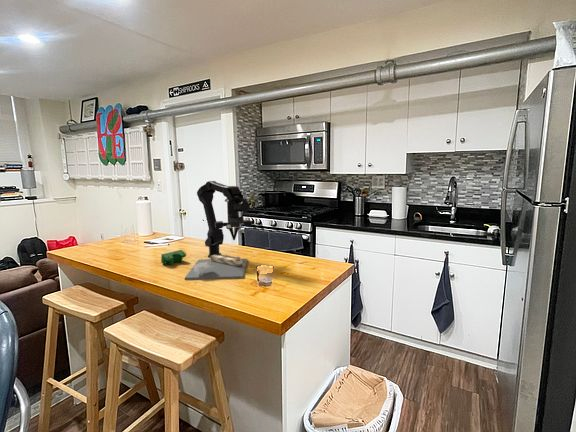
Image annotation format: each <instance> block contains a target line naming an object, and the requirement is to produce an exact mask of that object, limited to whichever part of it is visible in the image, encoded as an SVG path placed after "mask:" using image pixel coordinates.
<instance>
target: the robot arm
mask: <svg viewBox="0 0 576 432" xmlns="http://www.w3.org/2000/svg"><path fill="white" fill-rule="evenodd" d="M216 192H219V193H222V195H223V196H224V197H225V199H224V202H226V207H227V222H224V221H222V220H220V221H219V220H218V221H217V218H216V214H215V209H214V206H213V200H214V194H215V193H216ZM196 196H197V197H198V201H200V203H201V204H202V205H203V211H204V214H205V218H206V222H207V226H208V230H207V234H206V236H207V238H206V239H205V241H204V246H205V247H208V255H207V258H210V256H212V255H219V256H222V252H220V245H223V242H224V237H225V236H224V232H223V228H224V227H225V228H226V229H227V230H228V231H229V233H230V236H231V237H232V241H235V240H236V237H237V234H238V232H239V230H240V229H242V226H245V227H247V228H248V227H252V226H253V222H252V221H251V220H250V219H244V216H239V215H240V213H248V212H249V211H250V209H251V205H250V202H249V201H247V198H245V197H244V195H243V194H242V191H241V190H240V187H239V186H238V185H236V186H235V185H226V184H224V183H220V182H217V181H215V180H209V181H206V183H204V184H203V185H201V186H200V187H199V188H198V190H197V191H196Z"/></svg>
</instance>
